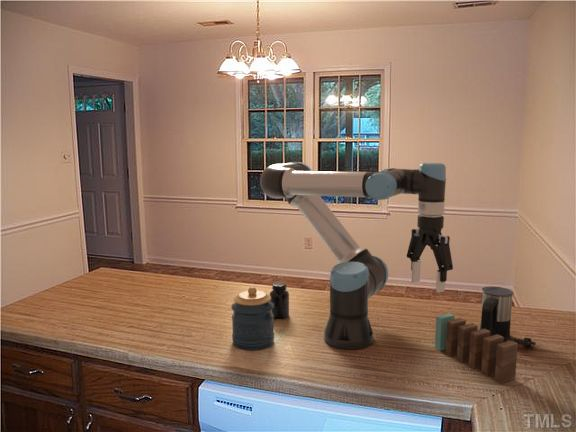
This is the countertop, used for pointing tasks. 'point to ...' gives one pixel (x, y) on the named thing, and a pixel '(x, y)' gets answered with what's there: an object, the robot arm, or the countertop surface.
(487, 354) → the domino
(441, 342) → the domino
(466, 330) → the domino
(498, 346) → the domino
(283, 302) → the supplement bottle
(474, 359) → the domino
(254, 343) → the canister
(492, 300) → the milk frother
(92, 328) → the countertop surface
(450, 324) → the domino
